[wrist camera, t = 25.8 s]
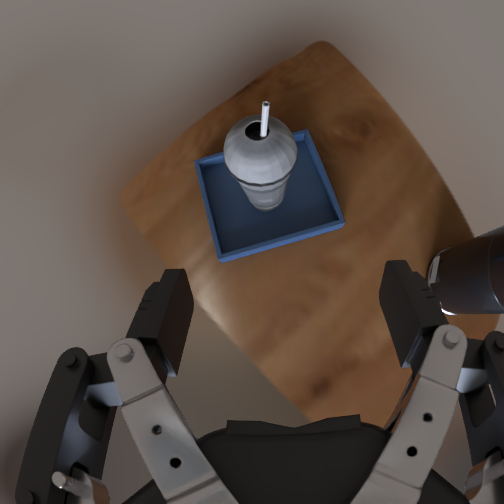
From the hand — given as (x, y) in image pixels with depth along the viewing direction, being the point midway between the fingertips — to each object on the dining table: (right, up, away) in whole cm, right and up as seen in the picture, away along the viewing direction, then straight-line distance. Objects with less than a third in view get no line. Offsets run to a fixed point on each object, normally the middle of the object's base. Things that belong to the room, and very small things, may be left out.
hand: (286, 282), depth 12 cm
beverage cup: (+1, +9, +27) cm, 29 cm away
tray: (+1, +9, +28) cm, 29 cm away
